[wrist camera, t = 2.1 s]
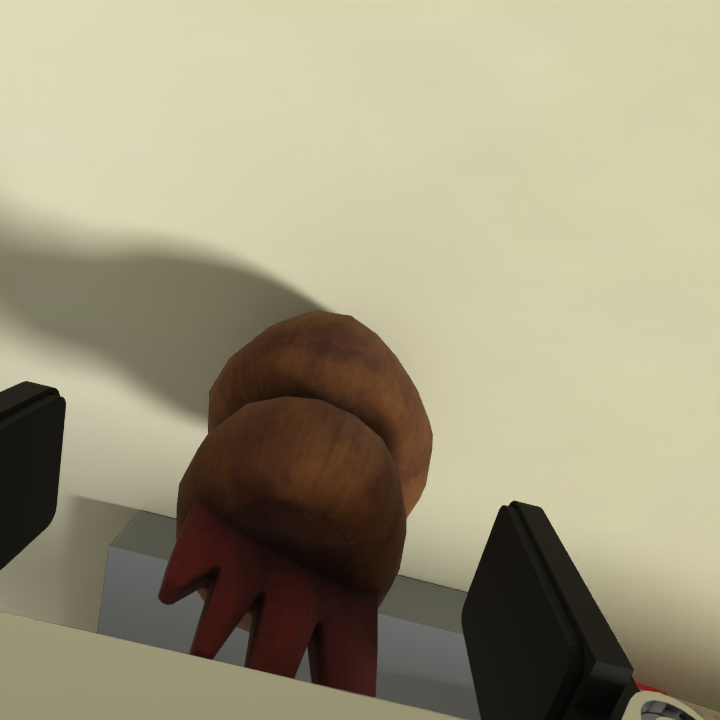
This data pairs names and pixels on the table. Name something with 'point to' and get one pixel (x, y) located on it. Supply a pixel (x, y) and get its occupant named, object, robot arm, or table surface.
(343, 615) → the wooden figurine
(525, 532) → the robot arm
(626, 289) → the table surface
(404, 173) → the table surface
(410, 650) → the slate plinth
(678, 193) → the table surface
